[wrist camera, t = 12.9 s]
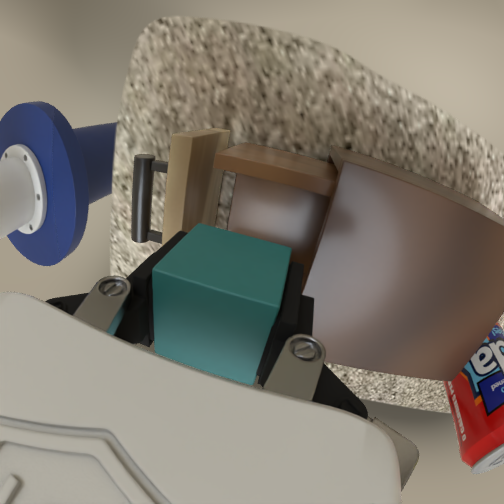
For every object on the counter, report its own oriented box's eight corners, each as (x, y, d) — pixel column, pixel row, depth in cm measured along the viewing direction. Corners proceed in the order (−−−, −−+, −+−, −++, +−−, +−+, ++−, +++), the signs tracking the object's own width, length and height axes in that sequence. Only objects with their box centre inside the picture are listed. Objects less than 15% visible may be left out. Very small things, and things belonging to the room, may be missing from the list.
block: (190, 297, 14) (154, 353, 10) (198, 222, 12) (151, 268, 8) (270, 320, 13) (253, 386, 10) (292, 246, 12) (280, 306, 8)
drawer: (155, 240, 24) (112, 279, 18) (166, 120, 19) (111, 127, 13) (342, 292, 23) (347, 350, 17) (386, 171, 18) (418, 197, 12)
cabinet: (292, 279, 24) (279, 351, 17) (331, 144, 19) (343, 160, 11) (426, 314, 23) (451, 381, 15) (479, 202, 17) (538, 246, 10)
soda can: (420, 359, 25) (445, 485, 12) (451, 300, 22) (510, 435, 8) (471, 360, 24) (505, 467, 11) (503, 307, 20) (562, 416, 7)
